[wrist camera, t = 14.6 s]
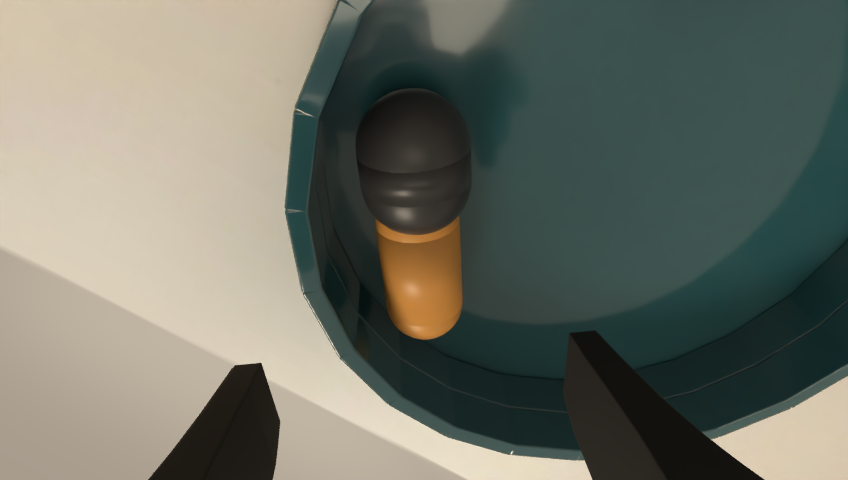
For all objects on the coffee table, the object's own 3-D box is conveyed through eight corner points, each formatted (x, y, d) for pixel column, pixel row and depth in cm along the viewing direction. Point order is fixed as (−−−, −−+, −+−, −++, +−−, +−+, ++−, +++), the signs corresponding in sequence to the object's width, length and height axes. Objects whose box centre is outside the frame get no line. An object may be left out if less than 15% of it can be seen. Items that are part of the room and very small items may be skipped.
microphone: (339, 83, 15) (358, 119, 12) (448, 67, 16) (487, 99, 13) (375, 316, 20) (395, 379, 17) (458, 297, 20) (489, 355, 18)
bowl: (569, 439, 26) (597, 521, 22) (182, 195, 17) (133, 266, 14) (1024, 138, 18) (1168, 191, 15) (721, -519, 10) (888, -729, 7)
